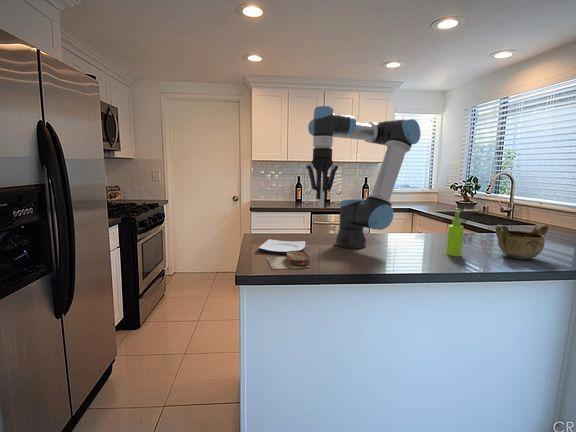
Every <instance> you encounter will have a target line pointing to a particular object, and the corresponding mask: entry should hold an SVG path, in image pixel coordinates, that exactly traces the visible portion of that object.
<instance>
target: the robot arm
mask: <svg viewBox="0 0 576 432" xmlns="http://www.w3.org/2000/svg"><path fill="white" fill-rule="evenodd" d="M313 111H314V112H313V119H311V120H310V121H309V123H308V127H307V129H308V133H309V134H310V135H311V136H312V137H313V141H312V147H314V148H312V160H311V163H309V164H307V165H306V166H305V169H306V170H307V172H308V175H309V180H310V185H311V189H312V190H314V191H316V194H315V195H316V196H315V199H317V200H318V206H317V207H318V208H320V209H325V200H327V195H328V194H327V193H328V191H330V190H332V188H333V184H334V180H335V177H336V176H335V175H336V173H337V171H338V170H339V165H336V164H334V162H333V148H332V147H333V140H334V139H333V138H341V139H352V140H359V141H360V140H361V141H365V142H366V143H370V144H377V145H381V146H385V147H386V152H385V153H384V156H383V159H382V163H381V165H380V168H379V170H378V174H377V176H376V177H377V178H376V180H375V183H374V185H373V189H372V191H371V194H369V195H367V196H366V198H356V199H355V198H353V199H352V198H351V199H343V200H341V201H340V205H339V225H338V226H339V228H338V231H337V233H336V234H337V235H336V237H335V242H334V243H335V245H336V247H339V248H343V249H344V248H345V249H363V248H365V247H367V240H366V236H365V232H364V228H367V229H371V230H378V231H383V230H385V229H387V228H388V227H389V226H390V225H391V223H392V222H393V219H394V209H393V207H392V202H391V197H392V194H393V192H394V189H395V188H394V187H395V185H396V182H397V179H398V176H399V173H400V170H401V168H402V164H403V161H404V158H405V155H406V153H408V152H410V151H411V148H412V145H415V144H417V143H418V142H419V141H420V139H421V128H420V125H419V122H418V121H417V120H416V119H414V118H403V119H402V118H401V119H394V120H384V121H379V122H367V123H362V122H361V123H360V122H357V119H356V118H355V116H353V115H349V114H341V113H335V112H334V111H335V110H334V108H333V107H332V106H330V105H321V106H320V105H319V106H317V107H315V108H314V110H313ZM313 169H314V170H315V173H316V179H315V173H314V170H313ZM329 170H330V173H329ZM328 174H329V176H328Z"/></svg>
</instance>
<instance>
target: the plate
mask: <svg viewBox="0 0 576 432" xmlns="http://www.w3.org/2000/svg"><path fill="white" fill-rule="evenodd" d="M305 248H306V241H305V240H303V241H302V240H301V241H299V240H298V241H287V240H286V241H285V240H276V239H267V240H266V241H265V242H263V244H261V245H260V246H259V247H258V250H259V251H262V252H265V253H270V254H276V255H278V254H279V255H286V252H288V251H303V250H304V249H305Z"/></svg>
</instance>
